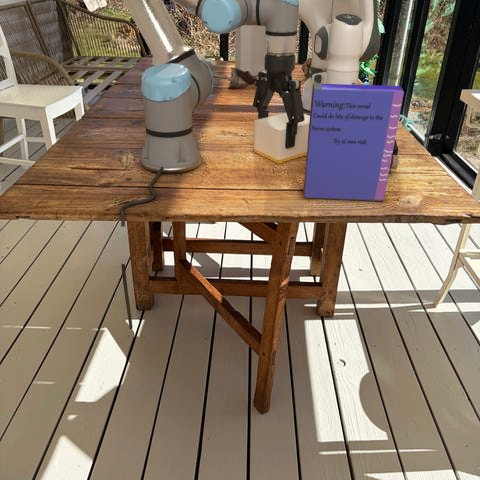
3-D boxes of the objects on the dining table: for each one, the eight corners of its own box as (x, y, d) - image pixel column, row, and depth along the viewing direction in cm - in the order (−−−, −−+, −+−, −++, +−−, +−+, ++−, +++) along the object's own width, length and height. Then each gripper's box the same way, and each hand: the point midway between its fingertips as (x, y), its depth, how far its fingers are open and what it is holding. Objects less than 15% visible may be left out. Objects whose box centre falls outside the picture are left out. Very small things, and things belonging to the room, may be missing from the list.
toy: (171, 74, 211) (170, 58, 208) (148, 64, 229) (146, 49, 225) (218, 68, 223) (218, 53, 219) (192, 59, 240) (192, 44, 237)
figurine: (210, 87, 179) (288, 95, 182) (212, 65, 176) (291, 73, 180) (208, 84, 201) (278, 91, 205) (210, 64, 198) (280, 71, 202)
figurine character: (396, 183, 117) (389, 155, 129) (402, 156, 112) (395, 129, 124) (368, 182, 118) (364, 154, 129) (373, 154, 113) (368, 127, 125)
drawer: (329, 129, 144) (332, 106, 141) (352, 137, 138) (355, 113, 134) (282, 141, 135) (283, 117, 131) (304, 151, 129) (306, 126, 125)
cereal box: (379, 191, 109) (398, 84, 97) (383, 201, 105) (404, 90, 93) (303, 188, 110) (312, 82, 98) (304, 197, 106) (314, 88, 94)
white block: (273, 76, 210) (276, 6, 196) (239, 77, 209) (240, 6, 194) (266, 67, 226) (268, 2, 212) (235, 67, 225) (235, 1, 210)
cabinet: (293, 140, 138) (295, 110, 134) (318, 151, 131) (321, 120, 126) (253, 151, 131) (254, 120, 126) (278, 163, 124) (279, 130, 119)
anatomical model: (311, 84, 215) (310, 84, 201) (297, 70, 214) (296, 70, 200) (331, 62, 211) (332, 61, 197) (317, 48, 210) (317, 46, 196)
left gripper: (325, 59, 110) (316, 150, 121) (262, 45, 125) (260, 127, 137) (300, 62, 106) (294, 156, 117) (239, 47, 122) (239, 132, 133)
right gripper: (378, 85, 126) (370, 136, 134) (323, 71, 140) (319, 117, 148) (362, 89, 123) (355, 140, 130) (308, 74, 137) (304, 121, 144)
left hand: (276, 140), depth 127 cm, fingers closed on cabinet, 10 cm apart
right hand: (335, 128), depth 139 cm, fingers closed, pressing on drawer
